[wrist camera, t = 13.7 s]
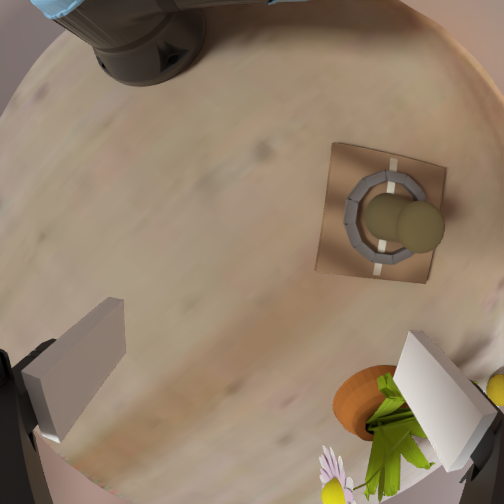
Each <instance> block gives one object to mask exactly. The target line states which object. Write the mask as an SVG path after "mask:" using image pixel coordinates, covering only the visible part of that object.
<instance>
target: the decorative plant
mask: <svg viewBox="0 0 504 504" xmlns="http://www.w3.org/2000/svg"><path fill="white" fill-rule="evenodd" d="M396 369H397V367H394V366H389V365H380V366H374V367H370V368H367V369H365V370H362V371H360V372H358V373H357V374H355V375H353V376H352V377H351V378H349V379H348V380H347V381H346V382H345V383H344V384H343V385H342V386H341V387H340V388H339V390H338V391H337V393H336V395H335V397H334V401H333V411H334V414H335V416H336V418H337V419H338V420H339V421H340V422H341V424H342V425H343V427H344V428H345V429H346V430H348V431H349V432H351V433H353V434H355V435H357V436H358V437H360V438H361V439H363V440H366V441H373V443H372V449H371V454H370V459H369V464H368V469H367V474H366V478H365V482H366V483H365V484H363V485H360V486H358V487H356V488H353V481H352V479H351V478H350V477H347V478H346V479H345V473H344V469H343V462H342V458H341V456H339V458H338V465H337V461H336V458H335V456H334V453H333V450H332V448H331V447H330V452H331V457H330V454H329V451H328V449H327V448H325V446H324V445H323V450H324V454H325V458H326V460H325V458H324V456H323V455H321V457H322V458H321V457H320V456H319V460H320V463H321V465H322V468H323V470H322V469H320V471H321V473H322V475H320V479H321V481H322V483H323V485H322V492H321V499H322V502H323V504H356V502H355V501H354V499H353V495H352V491H353V490H355V489H358V488H360V487H362V486H364V485H366V488H367V489H366V491H365V492H364V493H362V494H365V495H366V497H367V500H368V501H369V494H375V492H376V488H377V486H378V483H379V486H378V500H379V502H381V500H382V496H383V495H384V496H385V495H386V496H393V495H395V494H396V493H397V491H398V490H400V453H401V454H402V455H403V456H404V458H405V459H406V460H407V461H408V462H410V463H412V464H414V465H415V466H416V467H417V468H425V469H430V467H431V466H432V465H433V464H435V463H433V462H432V463H430V464H429V463H428V461H427V460H426V458H425V457H424V455H423V453H422V452H421V450H420V449H419V447H418V446H417V444H416V443H415V441H414V439H413V438H412V436H411V435H414V436H418V437H423V438H427V436H426V434H425V432H424V431H423V429H422V427H421V426H420V424H419V422H418V420H417V419H416V417H415V415H414V414H413V412H412V410H411V409H410V407H409V405H408V403H407V402H406V400H405V398H404V397H403V395H402V394H401V392H400V390H399V389H398V387H397V385H396V384H395V382H394V380H393V377H394V374H395V371H396ZM474 383H478V382H475V381H474ZM427 439H428V438H427ZM331 459H332V460H331ZM326 461H327V462H326ZM383 491H384V494H383Z"/></svg>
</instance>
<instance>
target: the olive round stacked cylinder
mask: <svg viewBox="0 0 504 504" xmlns="http://www.w3.org/2000/svg"><path fill="white" fill-rule="evenodd" d="M365 223H366V226H367V228H368V230H369V232H370V233H371V234H372V235H373V236H374V237H376V238H377V239H380V240H384V241H391V242H399V243H402V244H403V246H404V247H405V248H407V249H408V250H410V251H411V252H414V253H419V254H421V253H428V252H430V251H432V250H434V249H435V248H436V247H437V246H438V245H439V244H440V242H441V240H442V238H443V235H444V231H445V225H444V220H443V216H442V214H441V212H440V211H439V209H438V208H437V207H435V206H434V205H433V204H431V203H429V202H426V201H414V202H410V201H408V200H406V199H404V198H401V197H399V196H397V195H395V194H392V193H381V194H379V195H377V196H375V197H374V198H373V199H372V200H371V201H370V202H369V204H368V206H367V208H366V212H365Z"/></svg>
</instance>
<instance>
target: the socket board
mask: <svg viewBox="0 0 504 504" xmlns="http://www.w3.org/2000/svg"><path fill="white" fill-rule="evenodd" d="M444 174H445V168H443V167H439V166H436V165H432V164H429V163H425V162H421V161H417V160H414V159H410V158H406V157H402V156H397V155H393V154H389V153H385V152H380V151H376V150H371V149H366V148H361V147H356V146H351V145H346V144H341V143H335V142H334V143H332V148H331V157H330V166H329V175H328V183H327V191H326V198H325V206H324V213H323V220H322V227H321V234H320V241H319V247H318V253H317V260H316V266H315V271H316V272H318V273H327V274H336V275H345V276H355V277H364V278H373V279H383V280H392V281H402V282H412V283H422V284H426V281H427V277H428V272H429V268H430V263H431V258H432V254H433V250H432V251H430V252H428V253H421V254H419V253H414V252H411V251H410V250H408V249H407V248H405V247H404V246H403V244H402V243H399V242H391V241H384V240H380V239H377V238H376V237H374V236H373V235H372V234H371V233H370V232H369V230H368V228H367V226H366V223H365V212H366V208H367V206H368V204H369V202H370V201H371V200H372V199H373V198H374V197H375V196H377V195H379V194H381V193H392V194H395V195H397V196H399V197H401V198H404V199H406V200H408V201H410V202H414V201H426V202H429V203H431V204H433V205H434V206H435V207H437V208H438V209H439V211H440V207H441V200H442V192H443V183H444Z"/></svg>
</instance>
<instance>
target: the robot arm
mask: <svg viewBox="0 0 504 504" xmlns="http://www.w3.org/2000/svg"><path fill="white" fill-rule="evenodd" d="M30 1H31V2H32V3H33V4H34V5H35V6H36V7H38V8H39V9H40V10H41V11H42V12H43V13H44V15H45V16H46V17H47V18H49V19H52V20H53V21H55V22H56V23H58V24H59V25H61V26H63V27H64V28H66V29H67V30H69V31H70V32H72V33H73V34H75V35H76V36H78V37H79V38H81V39H82V40H84V41H85V42H87V43H88V44H90V45H91V46H92V47H93V50H94V52H95V55H96V57H97V60H98V63H99V65H100V66H101V68H102V69H103V70H104V71H105V72H106V73H107V74H108V75H109V76H110V77H112V78H113V79H115V80H116V81H118V82H120V83H122V84H125V85H129V86H150V85H154V84H158V83H161V82H163V81H166V80H168V79H170V78H172V77H173V76H175V75H177V74H178V73H180V72H181V71H182V70H184V69H185V68H186V67H187V66H188V65H189V64H190V63H191V62H192V61H193V60H194V58H195V57H196V56H197V54H198V53H199V51H200V49H201V47H202V45H203V42H204V39H205V34H206V24H205V20H204V17H203V14H202V11H201V9H200V8H206V7H214V6H224V5H236V4H253V3H265V4H267V5H268V4H269V5H272V4H275V3H277V2H302V1H309V0H30ZM125 353H126V343H125V324H124V300H123V299H117V298H112V297H108V298H107V299H106V300H104V301H103V302H102V303H101V304H99V305H98V306H97V307H96V308H95V309H93V310H92V311H91V312H90V313H88V314H87V315H86V316H85V317H84V318H82V319H81V320H80V321H79V322H78V323H76V324H75V325H74V326H73V327H72V328H70V329H69V330H68V331H67V332H66V333H64V334H63V335H62V336H61V337H60V338H59V339H57V340H56V339H50V340H48V341H46V342H43V343H41V344H40V345H39V346H38V347H37V348H35V350H34V351H32V352H31V353H29V354H28V356H26V357H25V358H23V359H22V360H21V361H20V362H19V363H18V364H16V365H15V366H14V367H13V368H11V364H10V360H9V357H8V354H7V352H5V351H4V350H2V349H0V504H53V501H52V498H51V496H50V493H49V489H48V486H47V482H46V479H45V476H44V472H43V468H42V464H41V460H40V456H39V452H38V448H37V443H36V438H35V435H34V433H33V429H34V428H35V427H36V426H37V424H38V425H39V428H40V431H41V433H42V436H44V437H46V438H49V439H51V440H53V441H56V442H58V443H61V442H62V440H63V439H64V438H65V436H66V435H67V433H68V432H69V430H70V429H71V428H72V426H73V425H74V423H75V422H76V420H77V419H78V418H79V416H80V415H81V413H82V412H83V411H84V409H85V408H86V406H87V405H88V404H89V402H90V401H91V399H92V398H93V397H94V395H95V394H96V392H97V391H98V390H99V388H100V387H101V386H102V384H103V383H104V381H105V380H106V379H107V377H108V376H109V375H110V373H111V372H112V371H113V369H114V368H115V367H116V365H117V364H118V363H119V361H120V360H121V358H122V357H123V356H124V354H125ZM393 380H394V382H395V384H396V385H397V387H398V389H399V390H400V392H401V394H402V395H403V397H404V398H405V400H406V402H407V403H408V405H409V407H410V409H411V410H412V412H413V414H414V415H415V417H416V419H417V420H418V422H419V424H420V426H421V427H422V429H423V431H424V432H425V434H426V436H427V438H428V439H429V441H430V443H431V445H432V446H433V448H434V450H435V452H436V454H437V455H438V457H439V459H440V461H441V463H442V464H443V466H444V468H445V470H446V471H447V472H450V471H454V470H458V469H461V468H463V466H464V465H465V464H466V462H467V461H468V459H469V458H470V457H471V459H472V460H473V462H474V463H473V464H472V466H471V467H470V468H469V470H468V471H467V473H466V474H465V475H464V477H463V478H462V479H461V481H460V482H459V483H462V482H463V481H464V480H465V479H466V483H465V486H464V490H463V493H462V496H461V499H460V503H459V504H504V414H503V413H502V412H501V410H500V409H499V408H498V407H497V406H496V405H495V404H494V403H493V401H492V400H491V399H490V398H488V396H487V395H486V394H485V393H483V390H482V389H481V388H480V387H479V386H478V385H477V384H476V383H474V382H472V381H471V380H469V379H468V378H467V377H466V376H465V375H464V374H463V373H462V372H461V371H460V370H459V368H458V367H457V366H456V365H455V364H454V363H453V362H452V361H451V360H450V359H449V358H448V357H447V356H446V355H445V354H444V353H443V352H442V351H441V350H440V349H439V348H438V347H437V345H436V344H435V343H434V342H433V341H432V340H431V339H430V338H429V337H428V336H427V335H426V334H425V333H424V332H423V331H411V330H409V332H408V335H407V339H406V342H405V345H404V348H403V351H402V354H401V357H400V360H399V363H398V366H397V369H396V371H395V374H394V377H393Z"/></svg>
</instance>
